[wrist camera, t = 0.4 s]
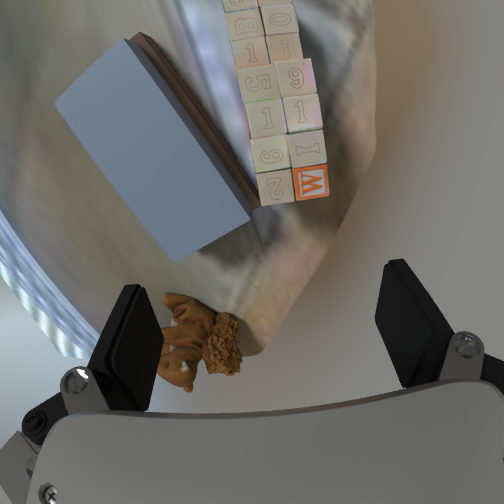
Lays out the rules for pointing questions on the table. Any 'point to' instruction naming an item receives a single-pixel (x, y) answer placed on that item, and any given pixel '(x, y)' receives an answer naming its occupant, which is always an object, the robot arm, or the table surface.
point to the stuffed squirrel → (197, 342)
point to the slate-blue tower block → (153, 151)
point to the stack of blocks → (278, 100)
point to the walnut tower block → (199, 118)
